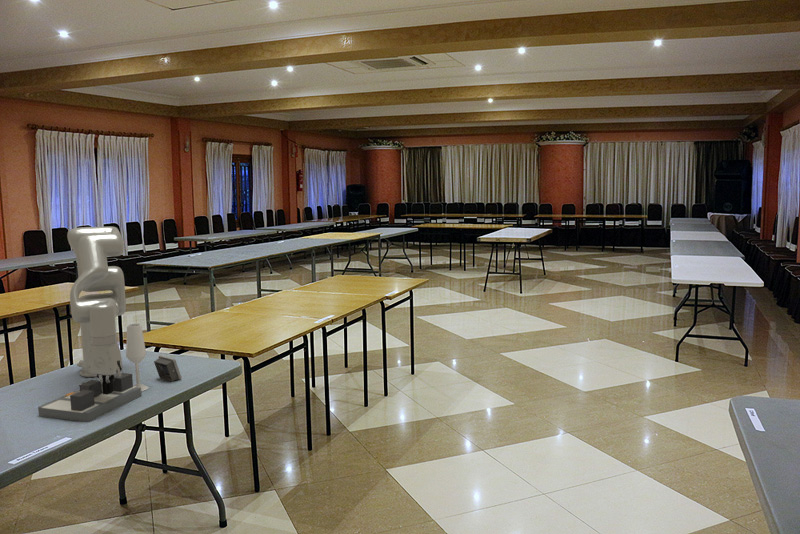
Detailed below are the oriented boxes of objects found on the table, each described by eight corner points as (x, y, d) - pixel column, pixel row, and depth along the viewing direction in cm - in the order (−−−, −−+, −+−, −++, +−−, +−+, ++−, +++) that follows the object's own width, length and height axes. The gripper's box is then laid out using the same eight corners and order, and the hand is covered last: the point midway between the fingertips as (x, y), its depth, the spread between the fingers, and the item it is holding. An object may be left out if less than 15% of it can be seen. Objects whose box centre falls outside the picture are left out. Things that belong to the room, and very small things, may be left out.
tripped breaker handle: (80, 397, 200) (79, 384, 199) (92, 392, 205) (91, 379, 205) (90, 398, 199) (89, 385, 198) (102, 393, 204) (101, 380, 204)
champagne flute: (129, 393, 214) (124, 328, 211) (128, 387, 220) (123, 324, 217) (149, 390, 217) (145, 326, 214) (147, 384, 223) (143, 322, 220)
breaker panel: (37, 416, 193) (35, 392, 192) (95, 390, 217) (94, 369, 216) (88, 422, 188) (86, 398, 187) (142, 395, 212) (140, 373, 211)
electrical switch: (182, 379, 229) (178, 356, 227) (170, 384, 225) (167, 361, 223) (167, 375, 234) (163, 353, 232) (155, 380, 230) (151, 357, 228)
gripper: (76, 341, 196) (81, 395, 198) (114, 344, 192) (118, 399, 195) (94, 335, 203) (98, 387, 206) (131, 338, 199) (134, 391, 202)
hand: (108, 393), depth 200 cm, fingers closed
